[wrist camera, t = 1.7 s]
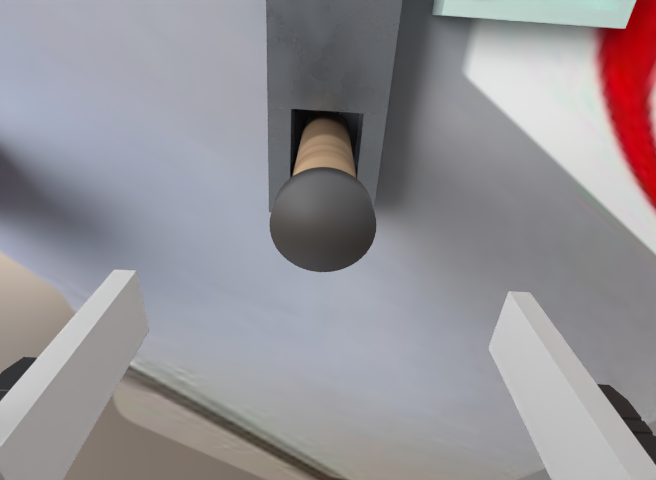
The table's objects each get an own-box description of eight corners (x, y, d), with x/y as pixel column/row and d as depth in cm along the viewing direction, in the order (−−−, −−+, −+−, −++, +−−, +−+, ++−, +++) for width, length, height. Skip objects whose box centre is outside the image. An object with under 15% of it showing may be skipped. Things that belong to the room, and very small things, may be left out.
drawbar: (272, -152, 25) (263, -178, 22) (411, -140, 25) (424, -164, 22) (274, 193, 37) (269, 212, 34) (368, 199, 37) (372, 218, 34)
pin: (296, 100, 33) (268, 174, 18) (358, 104, 33) (382, 181, 18) (295, 160, 35) (270, 269, 20) (352, 163, 36) (369, 274, 20)
